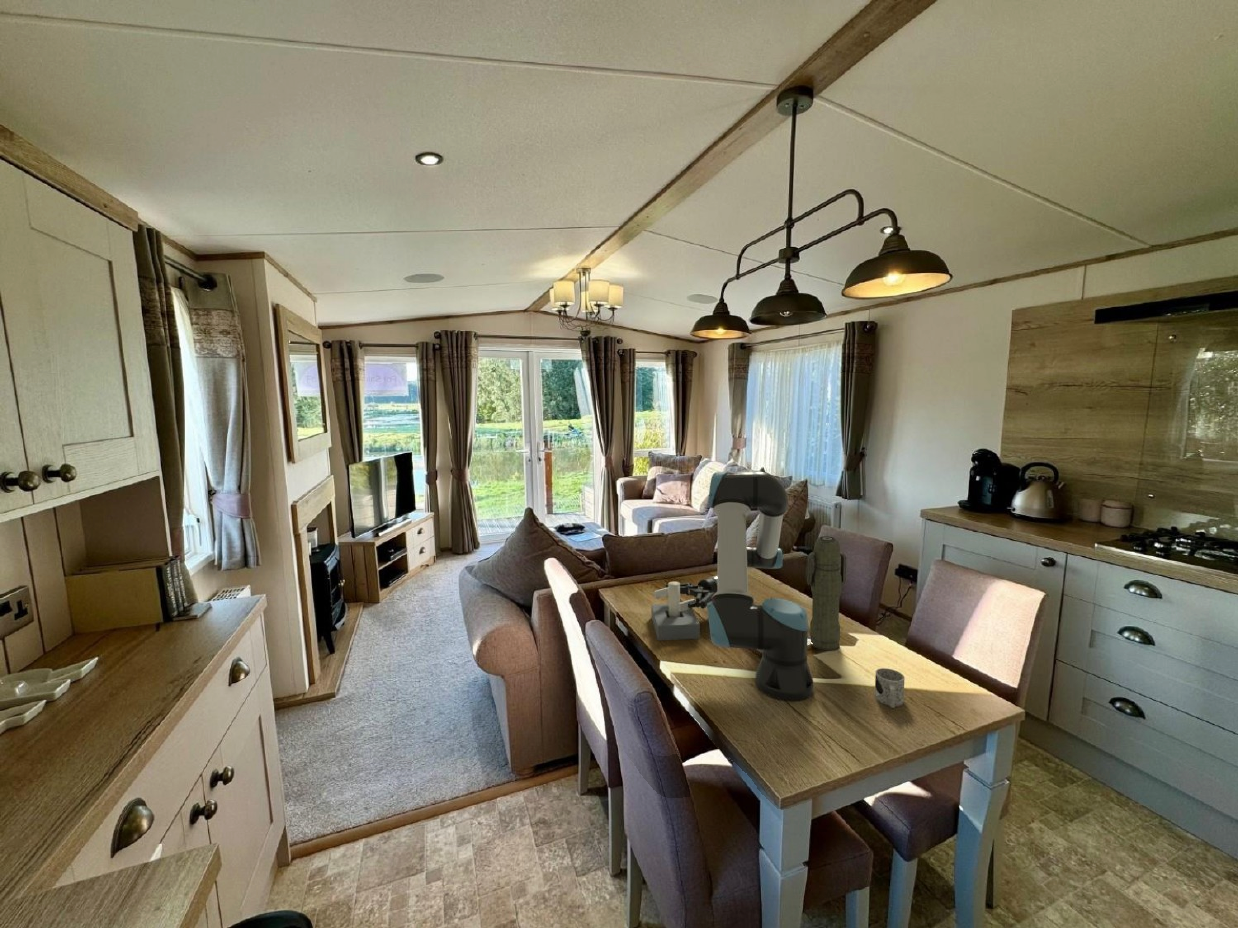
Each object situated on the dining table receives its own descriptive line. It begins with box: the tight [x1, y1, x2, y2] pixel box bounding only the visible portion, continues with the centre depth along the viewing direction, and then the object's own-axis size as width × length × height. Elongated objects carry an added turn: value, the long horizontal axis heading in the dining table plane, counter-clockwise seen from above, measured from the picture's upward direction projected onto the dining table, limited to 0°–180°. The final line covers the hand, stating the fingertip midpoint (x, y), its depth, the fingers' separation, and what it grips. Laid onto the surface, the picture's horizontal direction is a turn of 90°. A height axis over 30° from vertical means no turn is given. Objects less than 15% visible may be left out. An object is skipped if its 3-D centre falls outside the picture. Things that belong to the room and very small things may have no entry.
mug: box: [874, 667, 905, 709], centre depth 129 cm, size 10×7×7 cm
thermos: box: [806, 535, 847, 652], centre depth 159 cm, size 9×12×35 cm
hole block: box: [650, 603, 701, 641], centre depth 175 cm, size 18×14×5 cm
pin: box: [667, 581, 681, 618], centre depth 174 cm, size 4×4×15 cm
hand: (666, 600), depth 172 cm, fingers open, 13 cm apart
